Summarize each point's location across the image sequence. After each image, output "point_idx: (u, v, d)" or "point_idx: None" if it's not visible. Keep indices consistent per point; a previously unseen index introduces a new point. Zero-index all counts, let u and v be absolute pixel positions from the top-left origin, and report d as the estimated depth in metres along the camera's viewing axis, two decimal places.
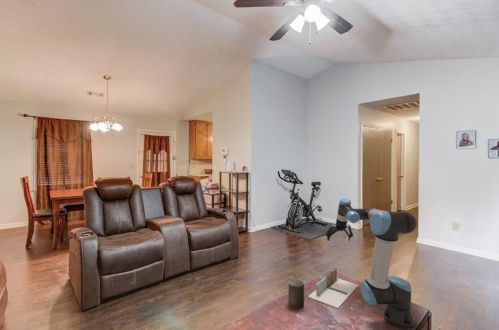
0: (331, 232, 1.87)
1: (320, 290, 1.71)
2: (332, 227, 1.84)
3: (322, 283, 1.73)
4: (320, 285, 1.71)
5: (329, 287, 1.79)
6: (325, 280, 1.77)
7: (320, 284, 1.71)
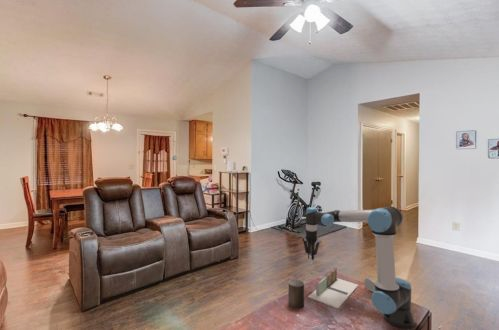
0: None
1: (320, 290, 1.71)
2: (303, 240, 1.79)
3: (322, 283, 1.73)
4: (320, 285, 1.71)
5: (329, 287, 1.79)
6: (325, 280, 1.77)
7: (320, 284, 1.71)
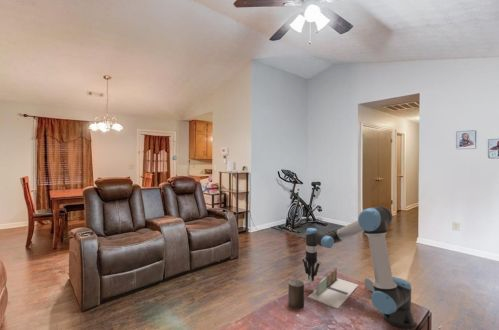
0: None
1: (320, 290, 1.71)
2: (303, 261, 1.79)
3: (322, 283, 1.73)
4: (320, 285, 1.71)
5: (329, 287, 1.79)
6: (325, 280, 1.77)
7: (320, 284, 1.71)
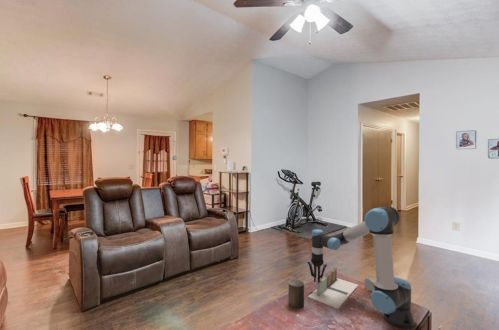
0: (314, 271, 1.75)
1: (321, 290, 1.71)
2: None
3: (322, 283, 1.73)
4: (321, 285, 1.71)
5: (329, 287, 1.79)
6: (325, 280, 1.77)
7: (321, 284, 1.71)
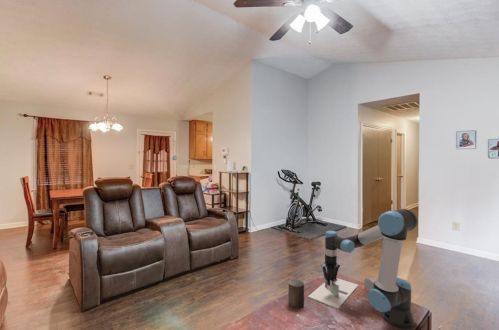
0: (327, 274, 1.69)
1: None
2: (324, 268, 1.67)
3: None
4: None
5: None
6: None
7: None
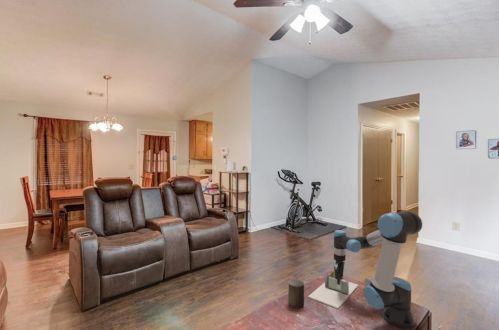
0: None
1: None
2: (338, 269, 1.67)
3: None
4: None
5: None
6: None
7: None
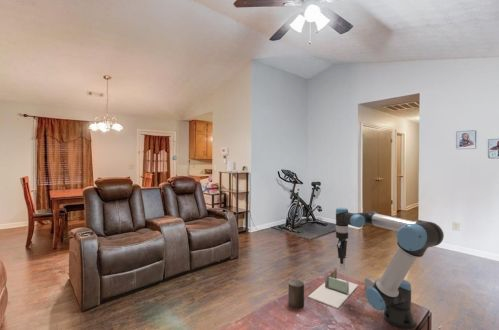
0: None
1: None
2: (341, 247, 1.61)
3: None
4: None
5: None
6: None
7: None
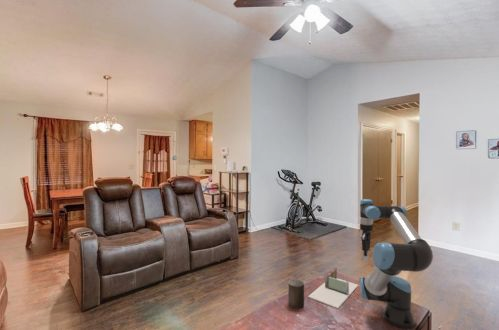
0: None
1: None
2: (365, 239, 1.58)
3: None
4: None
5: None
6: None
7: None
